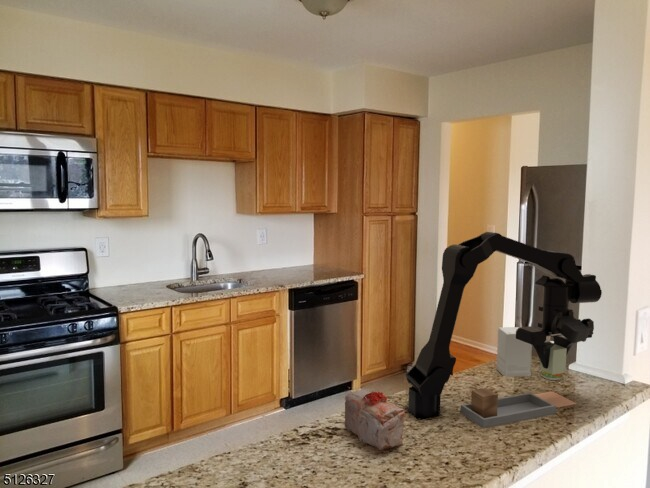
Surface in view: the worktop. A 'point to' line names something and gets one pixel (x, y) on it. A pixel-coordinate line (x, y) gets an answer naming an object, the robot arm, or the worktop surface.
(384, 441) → the food item
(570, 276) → the robot arm
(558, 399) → the coaster
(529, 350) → the supplement box
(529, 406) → the bin
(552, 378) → the supplement bottle
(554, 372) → the sage block
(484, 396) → the walnut block
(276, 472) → the worktop surface
